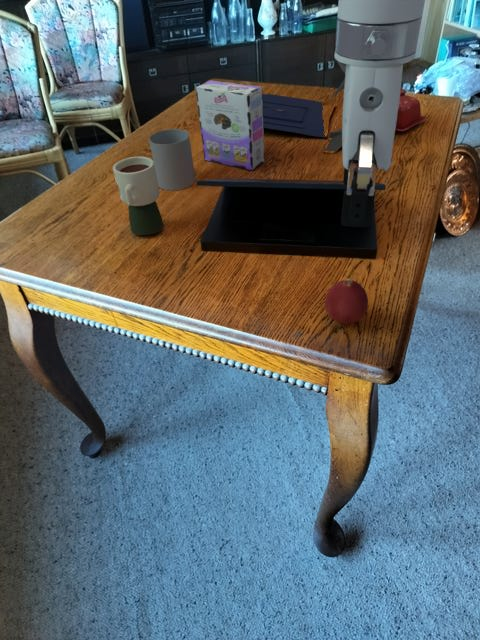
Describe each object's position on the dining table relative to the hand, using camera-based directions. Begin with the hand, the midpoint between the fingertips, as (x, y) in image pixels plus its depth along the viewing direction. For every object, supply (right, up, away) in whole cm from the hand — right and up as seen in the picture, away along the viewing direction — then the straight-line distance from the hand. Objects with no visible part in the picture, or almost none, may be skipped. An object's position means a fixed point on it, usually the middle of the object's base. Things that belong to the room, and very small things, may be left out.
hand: (355, 203), depth 55 cm
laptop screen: (-4, +10, +29) cm, 31 cm away
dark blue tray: (-4, +40, +72) cm, 82 cm away
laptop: (-4, +5, +33) cm, 33 cm away
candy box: (-15, +23, +54) cm, 61 cm away
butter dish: (+26, +36, +64) cm, 78 cm away
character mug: (-31, +3, +34) cm, 46 cm away
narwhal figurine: (+15, +29, +57) cm, 66 cm away
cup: (-28, +17, +48) cm, 58 cm away
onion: (+1, -14, +12) cm, 19 cm away
